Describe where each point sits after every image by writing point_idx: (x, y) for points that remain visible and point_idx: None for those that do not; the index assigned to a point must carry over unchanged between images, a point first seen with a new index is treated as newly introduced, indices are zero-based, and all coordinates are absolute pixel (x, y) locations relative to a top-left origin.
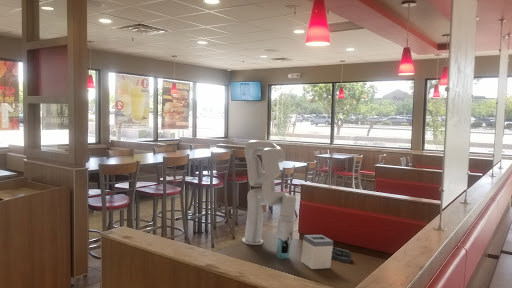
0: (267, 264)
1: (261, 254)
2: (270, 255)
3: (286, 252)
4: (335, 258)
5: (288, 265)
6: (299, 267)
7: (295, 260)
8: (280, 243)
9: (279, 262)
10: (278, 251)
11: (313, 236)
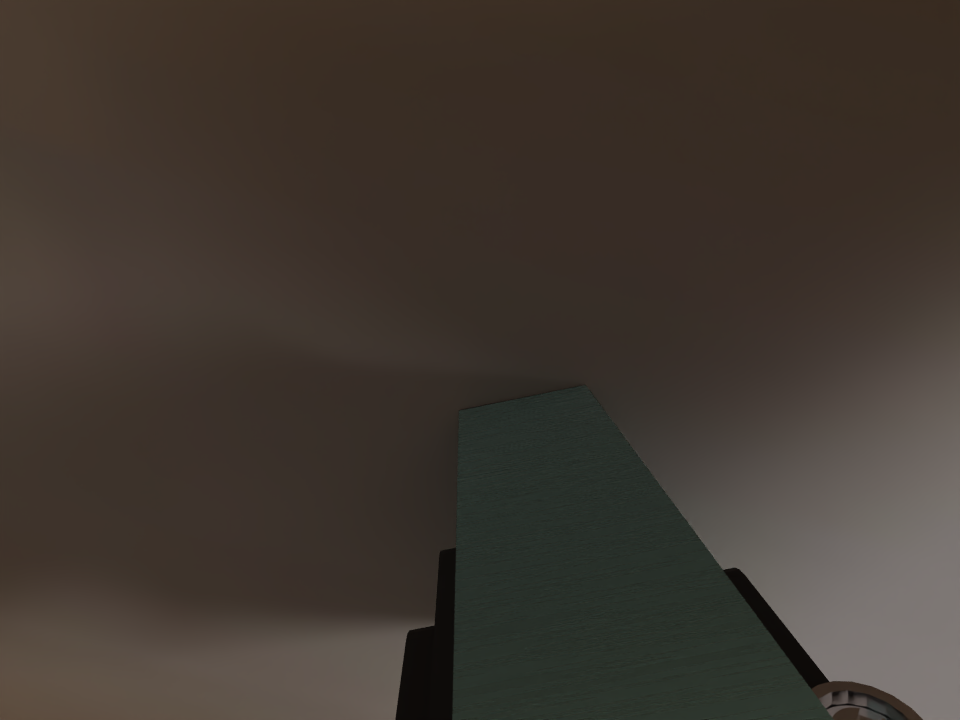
0: (7, 9)
1: (755, 32)
2: (677, 269)
3: None
4: None
5: (76, 516)
6: (19, 690)
7: None
8: None
9: (223, 368)
10: (522, 468)
11: None
